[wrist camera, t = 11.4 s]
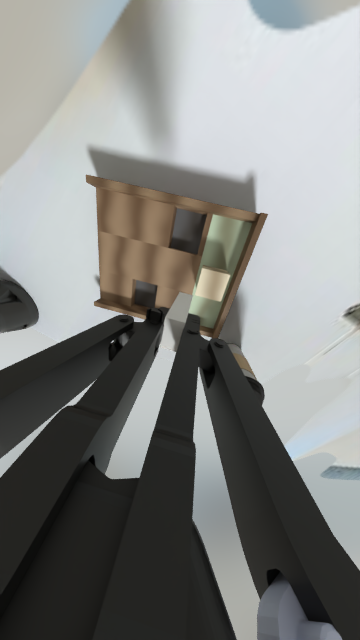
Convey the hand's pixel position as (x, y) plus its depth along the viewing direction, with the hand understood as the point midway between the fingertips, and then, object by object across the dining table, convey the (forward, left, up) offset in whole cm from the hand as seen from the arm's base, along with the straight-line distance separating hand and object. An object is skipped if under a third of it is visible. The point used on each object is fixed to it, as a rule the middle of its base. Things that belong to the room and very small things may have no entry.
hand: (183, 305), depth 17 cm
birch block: (+4, 0, -17) cm, 17 cm away
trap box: (-7, 0, -19) cm, 20 cm away
